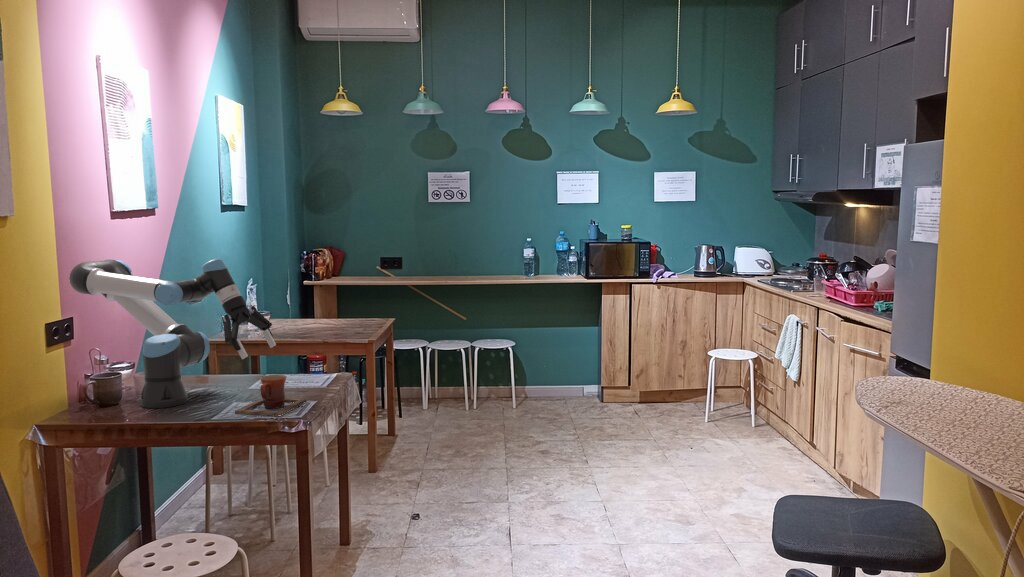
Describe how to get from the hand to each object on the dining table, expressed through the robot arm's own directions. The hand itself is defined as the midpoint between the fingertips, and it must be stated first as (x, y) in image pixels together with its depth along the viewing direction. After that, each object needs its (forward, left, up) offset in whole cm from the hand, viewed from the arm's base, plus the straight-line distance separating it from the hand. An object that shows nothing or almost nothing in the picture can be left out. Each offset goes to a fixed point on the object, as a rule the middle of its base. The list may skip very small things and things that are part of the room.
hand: (259, 352), depth 268 cm
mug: (+10, -10, -17) cm, 22 cm away
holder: (+10, -10, -17) cm, 22 cm away
